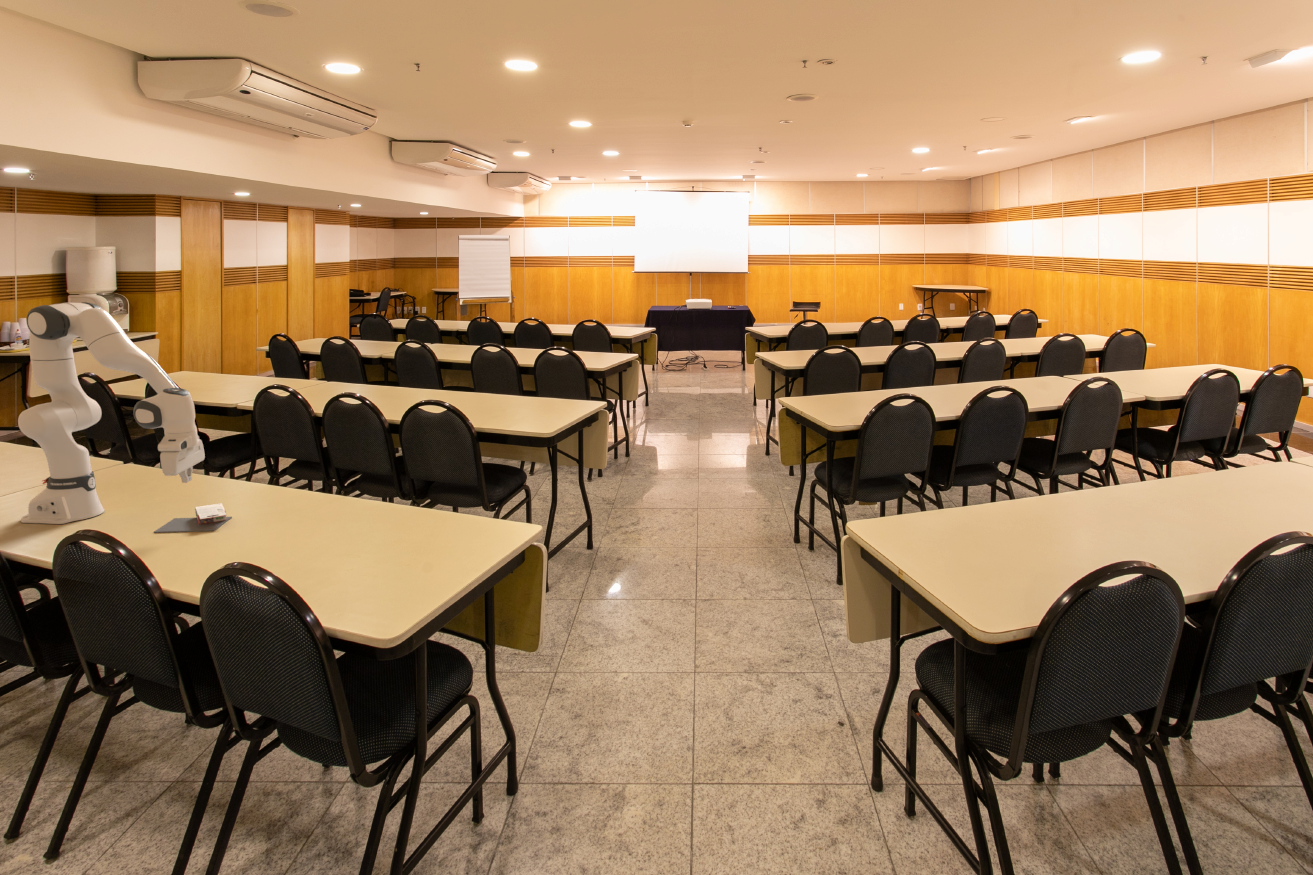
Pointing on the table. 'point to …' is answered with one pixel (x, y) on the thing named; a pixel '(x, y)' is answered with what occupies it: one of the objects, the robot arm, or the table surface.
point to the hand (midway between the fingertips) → (187, 481)
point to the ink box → (210, 513)
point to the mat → (189, 525)
